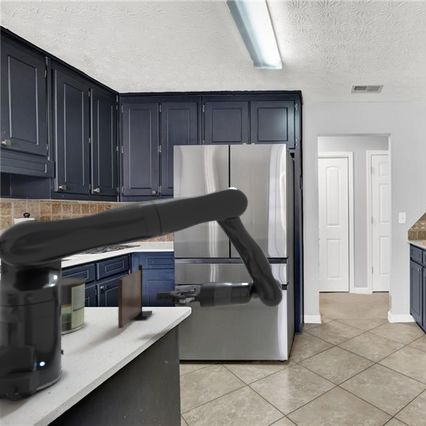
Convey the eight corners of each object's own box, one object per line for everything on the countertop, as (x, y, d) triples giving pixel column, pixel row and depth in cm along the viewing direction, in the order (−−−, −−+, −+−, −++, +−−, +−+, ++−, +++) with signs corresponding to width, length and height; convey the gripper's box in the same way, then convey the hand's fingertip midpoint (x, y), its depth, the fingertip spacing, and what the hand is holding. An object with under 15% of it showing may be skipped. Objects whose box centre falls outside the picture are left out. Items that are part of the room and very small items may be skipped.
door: (122, 328, 85) (122, 279, 85) (117, 328, 85) (118, 279, 85) (141, 312, 98) (141, 270, 98) (137, 312, 98) (137, 270, 98)
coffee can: (49, 339, 81) (49, 287, 81) (32, 331, 86) (32, 282, 86) (92, 326, 91) (92, 279, 90) (75, 320, 95) (75, 275, 95)
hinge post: (146, 319, 97) (146, 266, 96) (125, 320, 95) (126, 266, 95) (152, 314, 101) (152, 263, 101) (132, 315, 100) (133, 263, 100)
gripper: (220, 277, 100) (164, 278, 97) (214, 287, 87) (148, 289, 83) (220, 299, 100) (164, 302, 97) (213, 313, 87) (148, 316, 84)
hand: (157, 296), depth 90 cm, fingers closed
